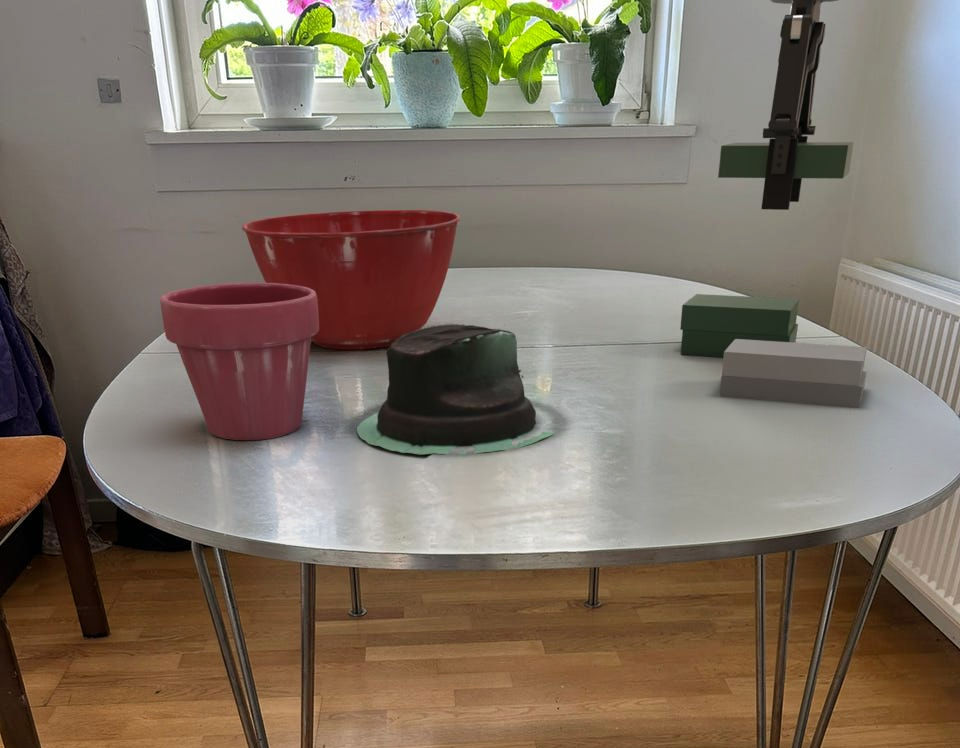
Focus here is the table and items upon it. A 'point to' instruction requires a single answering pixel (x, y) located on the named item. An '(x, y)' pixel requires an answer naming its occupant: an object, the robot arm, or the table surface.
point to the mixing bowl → (360, 268)
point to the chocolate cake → (452, 393)
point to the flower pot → (245, 353)
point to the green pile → (735, 322)
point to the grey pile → (794, 372)
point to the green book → (808, 162)
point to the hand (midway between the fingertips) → (780, 205)
